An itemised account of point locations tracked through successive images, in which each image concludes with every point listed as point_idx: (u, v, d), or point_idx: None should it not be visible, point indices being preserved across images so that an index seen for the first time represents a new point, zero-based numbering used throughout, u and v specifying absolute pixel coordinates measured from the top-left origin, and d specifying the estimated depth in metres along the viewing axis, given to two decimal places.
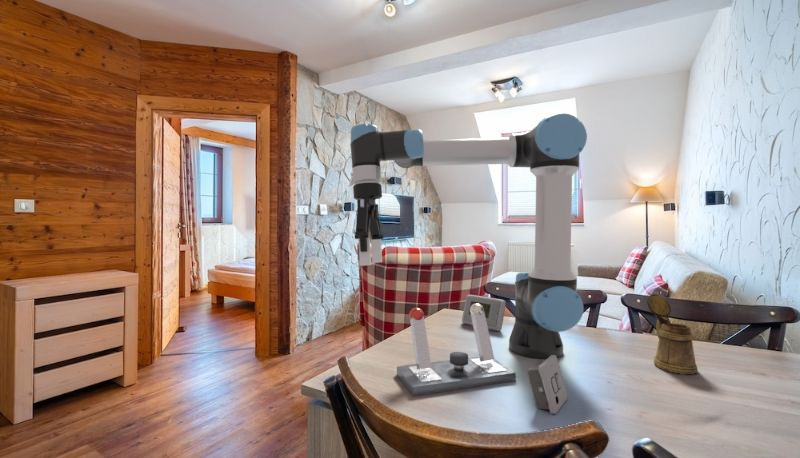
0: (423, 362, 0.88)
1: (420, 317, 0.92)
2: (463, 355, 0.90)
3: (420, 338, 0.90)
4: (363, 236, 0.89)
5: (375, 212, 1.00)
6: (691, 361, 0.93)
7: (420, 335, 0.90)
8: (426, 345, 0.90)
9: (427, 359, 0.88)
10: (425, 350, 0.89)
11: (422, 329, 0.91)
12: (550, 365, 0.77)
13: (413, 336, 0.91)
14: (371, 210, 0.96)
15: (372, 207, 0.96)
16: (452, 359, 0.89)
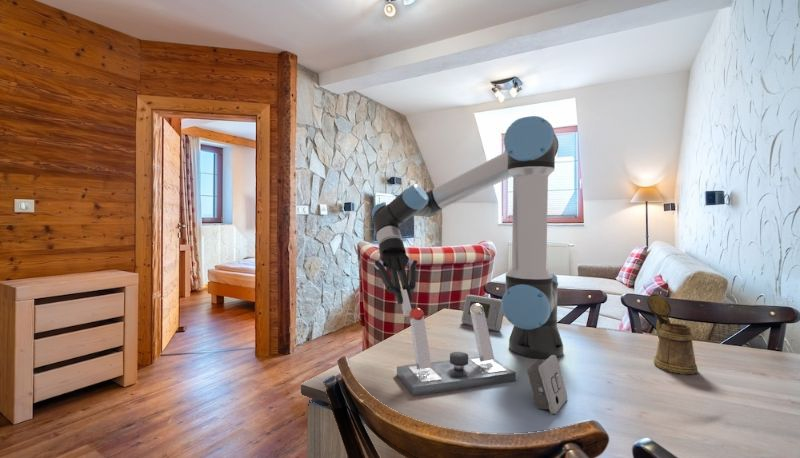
0: (423, 362, 0.88)
1: (420, 317, 0.92)
2: (463, 355, 0.90)
3: (420, 338, 0.90)
4: (393, 290, 1.00)
5: (399, 261, 1.07)
6: (691, 361, 0.93)
7: (420, 335, 0.90)
8: (426, 345, 0.90)
9: (427, 359, 0.88)
10: (425, 350, 0.89)
11: (422, 329, 0.91)
12: (550, 365, 0.77)
13: (413, 336, 0.91)
14: (391, 263, 1.05)
15: (390, 260, 1.06)
16: (452, 359, 0.89)
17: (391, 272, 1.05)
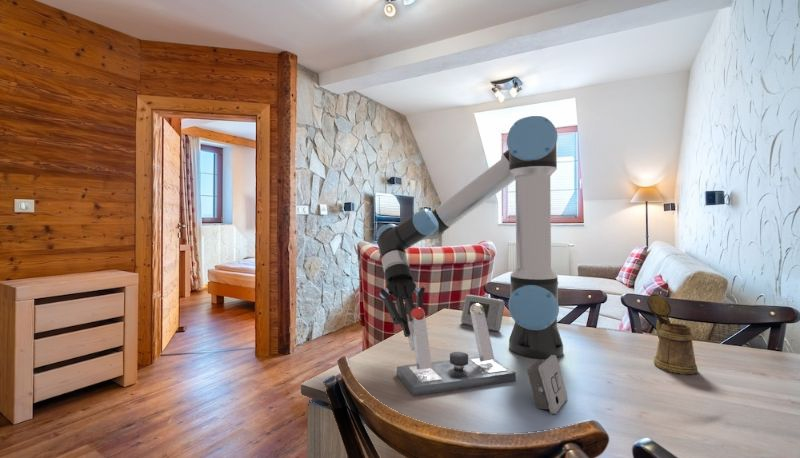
0: (423, 362, 0.88)
1: (422, 317, 0.91)
2: (463, 355, 0.90)
3: (421, 338, 0.89)
4: (399, 321, 0.95)
5: (405, 289, 1.01)
6: (691, 361, 0.93)
7: (421, 335, 0.90)
8: (427, 345, 0.89)
9: (427, 359, 0.88)
10: (426, 350, 0.89)
11: (423, 329, 0.90)
12: (550, 365, 0.77)
13: (414, 336, 0.90)
14: (397, 292, 1.00)
15: (396, 288, 1.01)
16: (452, 359, 0.89)
17: (397, 301, 1.00)
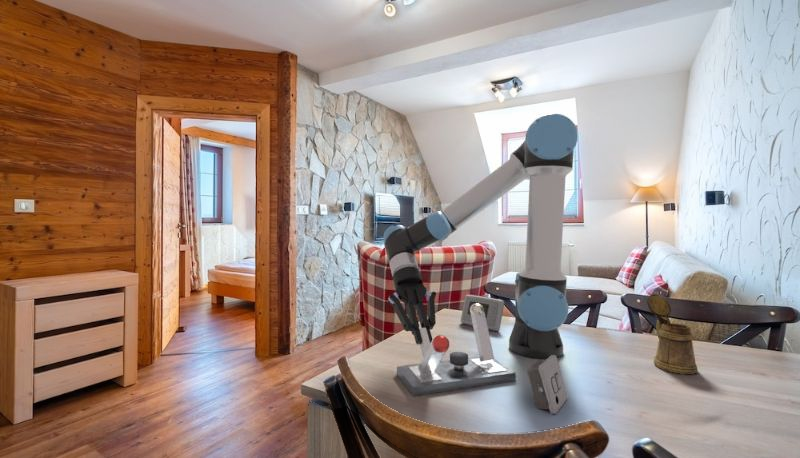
0: (426, 372, 0.86)
1: None
2: (463, 355, 0.90)
3: (433, 361, 0.82)
4: (410, 328, 0.89)
5: (416, 293, 0.95)
6: (691, 361, 0.93)
7: (434, 359, 0.82)
8: (436, 364, 0.84)
9: (431, 370, 0.86)
10: (433, 366, 0.84)
11: (440, 356, 0.81)
12: (550, 365, 0.77)
13: (427, 356, 0.82)
14: (407, 296, 0.94)
15: (406, 292, 0.94)
16: (452, 359, 0.89)
17: (407, 306, 0.93)
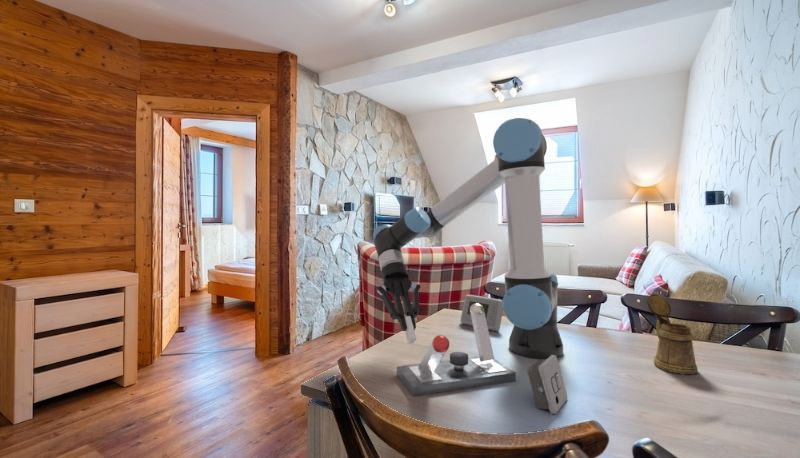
0: (426, 372, 0.86)
1: None
2: (463, 355, 0.90)
3: (433, 361, 0.82)
4: (396, 317, 0.99)
5: (402, 286, 1.06)
6: (691, 361, 0.93)
7: (434, 359, 0.82)
8: (436, 364, 0.84)
9: (431, 370, 0.86)
10: (433, 366, 0.84)
11: (440, 356, 0.81)
12: (550, 365, 0.77)
13: (427, 356, 0.82)
14: (394, 289, 1.04)
15: (393, 285, 1.05)
16: (452, 359, 0.89)
17: (394, 297, 1.04)
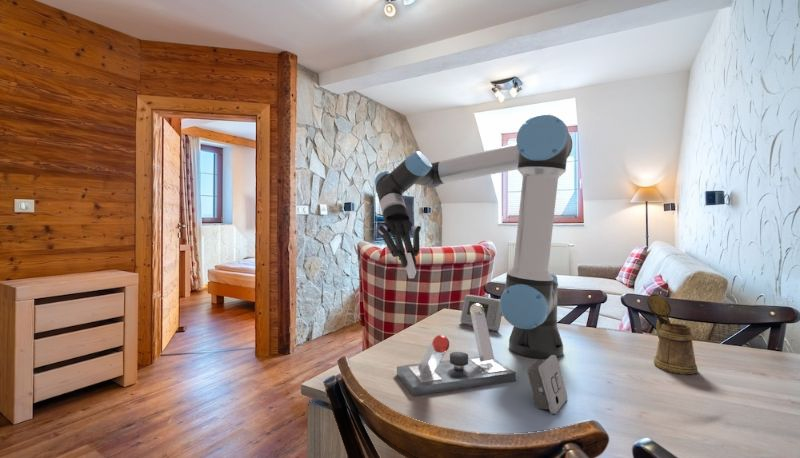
0: (426, 372, 0.86)
1: None
2: (463, 355, 0.90)
3: (433, 361, 0.82)
4: (397, 253, 1.01)
5: (403, 226, 1.08)
6: (691, 361, 0.93)
7: (434, 359, 0.82)
8: (436, 364, 0.84)
9: (431, 370, 0.86)
10: (433, 366, 0.84)
11: (440, 356, 0.81)
12: (550, 365, 0.77)
13: (427, 356, 0.82)
14: (395, 228, 1.06)
15: (394, 225, 1.07)
16: (452, 359, 0.89)
17: (395, 237, 1.06)
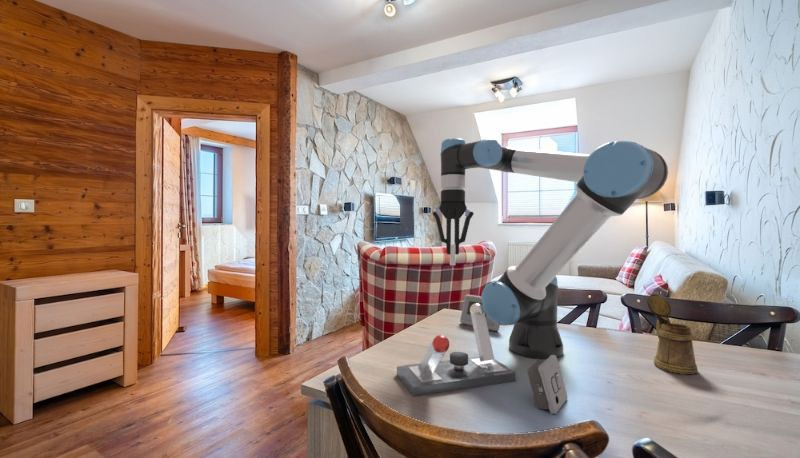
0: (426, 372, 0.86)
1: None
2: (463, 355, 0.90)
3: (433, 361, 0.82)
4: (444, 242, 1.16)
5: (455, 213, 1.15)
6: (691, 361, 0.93)
7: (434, 359, 0.82)
8: (436, 364, 0.84)
9: (431, 370, 0.86)
10: (433, 366, 0.84)
11: (440, 356, 0.81)
12: (550, 365, 0.77)
13: (427, 356, 0.82)
14: (447, 216, 1.15)
15: (447, 212, 1.15)
16: (452, 359, 0.89)
17: (446, 222, 1.17)
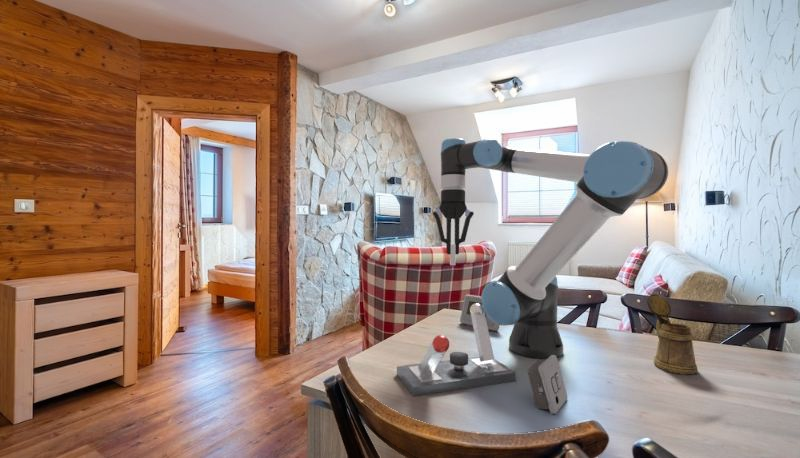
0: (426, 372, 0.86)
1: None
2: (463, 355, 0.90)
3: (433, 361, 0.82)
4: (444, 242, 1.16)
5: (455, 213, 1.15)
6: (691, 361, 0.93)
7: (434, 359, 0.82)
8: (436, 364, 0.84)
9: (431, 370, 0.86)
10: (433, 366, 0.84)
11: (440, 356, 0.81)
12: (550, 365, 0.77)
13: (427, 356, 0.82)
14: (447, 215, 1.15)
15: (447, 212, 1.15)
16: (452, 359, 0.89)
17: (446, 222, 1.17)
